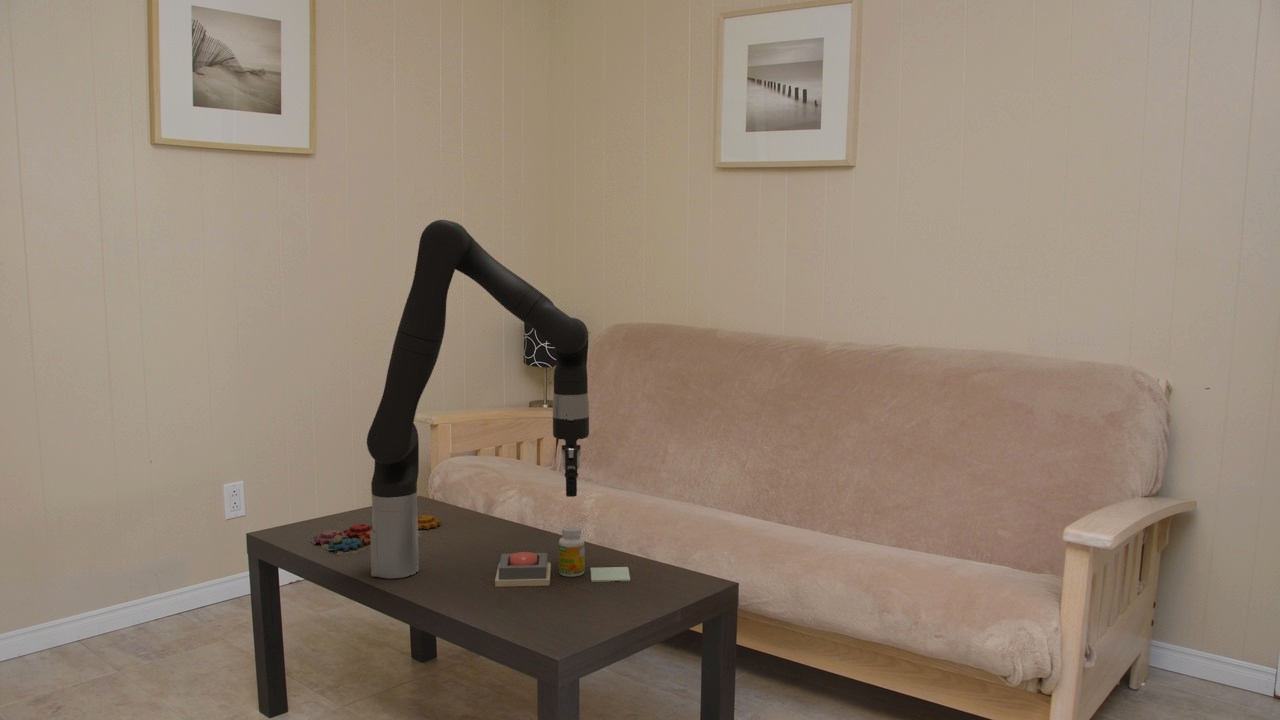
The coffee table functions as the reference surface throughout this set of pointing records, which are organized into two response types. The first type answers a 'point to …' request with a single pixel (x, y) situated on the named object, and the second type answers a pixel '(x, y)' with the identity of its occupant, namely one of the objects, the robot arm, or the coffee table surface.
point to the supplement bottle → (571, 552)
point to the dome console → (523, 572)
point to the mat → (610, 574)
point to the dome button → (523, 558)
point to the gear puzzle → (362, 535)
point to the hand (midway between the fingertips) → (571, 491)
